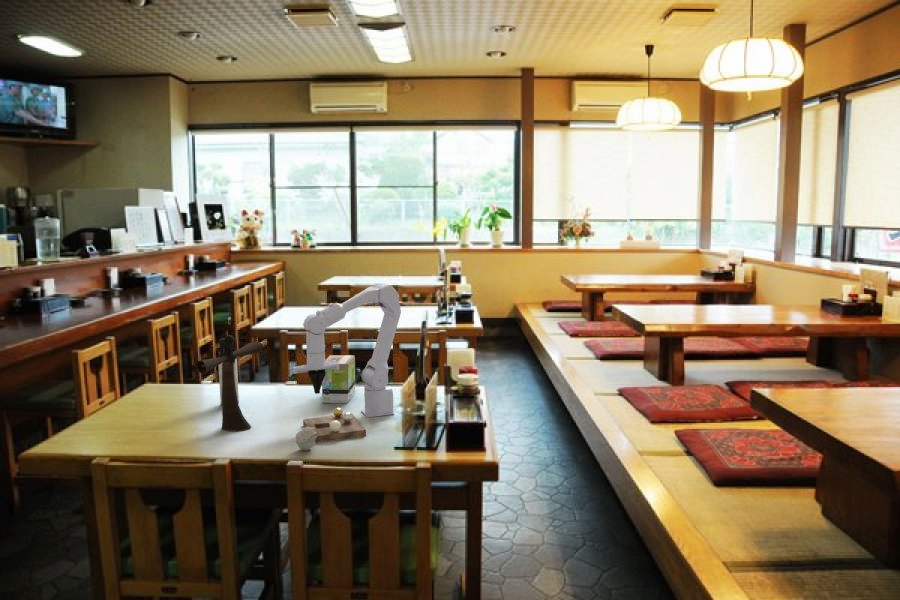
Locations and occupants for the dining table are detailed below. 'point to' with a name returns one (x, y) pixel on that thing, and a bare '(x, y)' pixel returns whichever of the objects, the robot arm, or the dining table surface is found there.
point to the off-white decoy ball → (335, 426)
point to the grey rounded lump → (306, 438)
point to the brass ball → (337, 412)
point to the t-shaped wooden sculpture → (230, 381)
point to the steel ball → (347, 417)
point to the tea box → (339, 380)
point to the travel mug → (234, 376)
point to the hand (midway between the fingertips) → (317, 392)
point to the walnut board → (327, 434)
